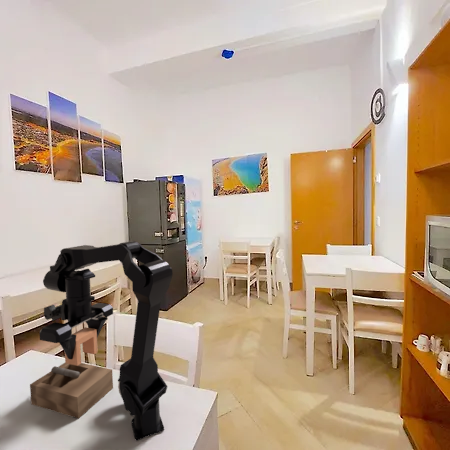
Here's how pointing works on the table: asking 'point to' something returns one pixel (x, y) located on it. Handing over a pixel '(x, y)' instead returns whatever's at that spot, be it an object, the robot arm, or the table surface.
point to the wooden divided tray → (71, 388)
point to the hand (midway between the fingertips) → (81, 351)
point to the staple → (89, 345)
